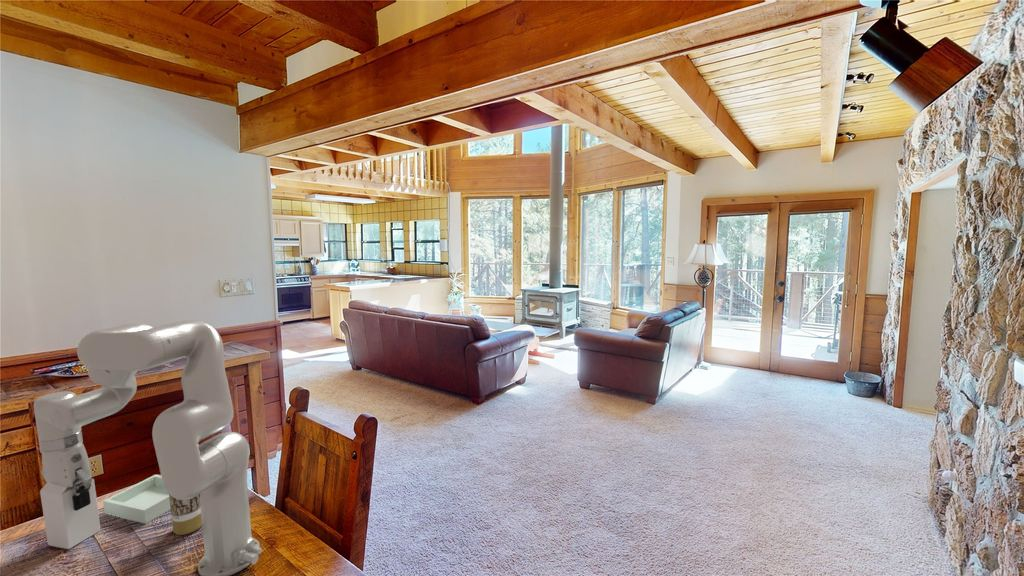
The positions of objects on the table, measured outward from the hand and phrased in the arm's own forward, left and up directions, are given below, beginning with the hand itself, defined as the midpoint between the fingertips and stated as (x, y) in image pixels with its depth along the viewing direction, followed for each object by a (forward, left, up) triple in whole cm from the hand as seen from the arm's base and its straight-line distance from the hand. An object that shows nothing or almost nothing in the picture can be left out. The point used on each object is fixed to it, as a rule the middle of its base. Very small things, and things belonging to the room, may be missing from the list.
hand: (70, 504), depth 110 cm
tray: (-4, -16, -10) cm, 19 cm away
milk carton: (0, 0, -10) cm, 10 cm away
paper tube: (-25, -11, -10) cm, 29 cm away
